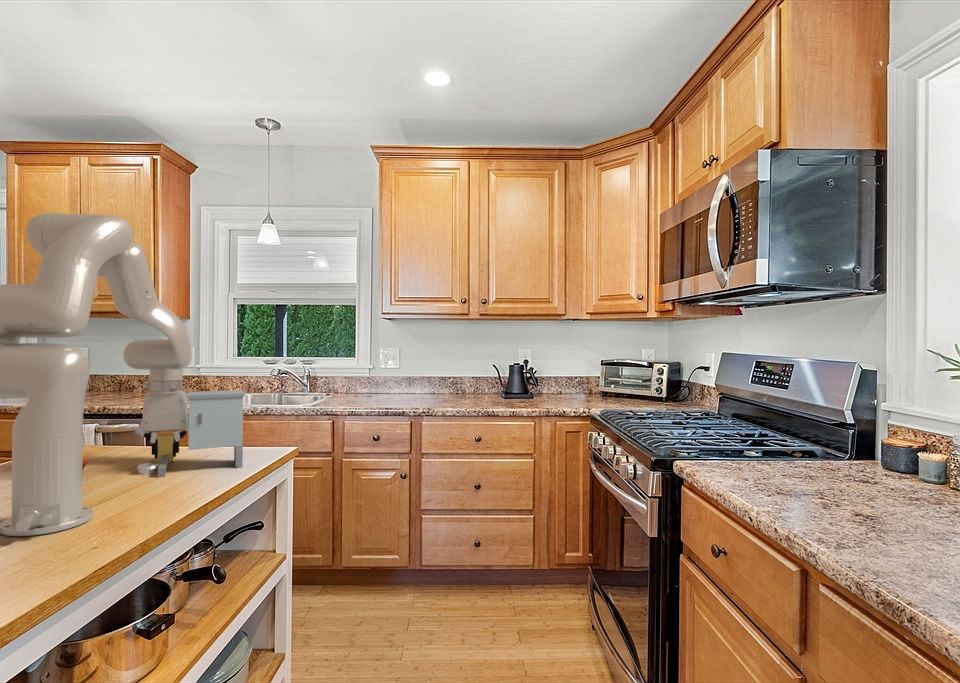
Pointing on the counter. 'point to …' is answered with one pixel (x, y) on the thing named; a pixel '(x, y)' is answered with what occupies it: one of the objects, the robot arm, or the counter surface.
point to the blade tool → (164, 452)
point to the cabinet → (217, 421)
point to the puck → (147, 468)
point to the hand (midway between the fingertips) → (165, 456)
